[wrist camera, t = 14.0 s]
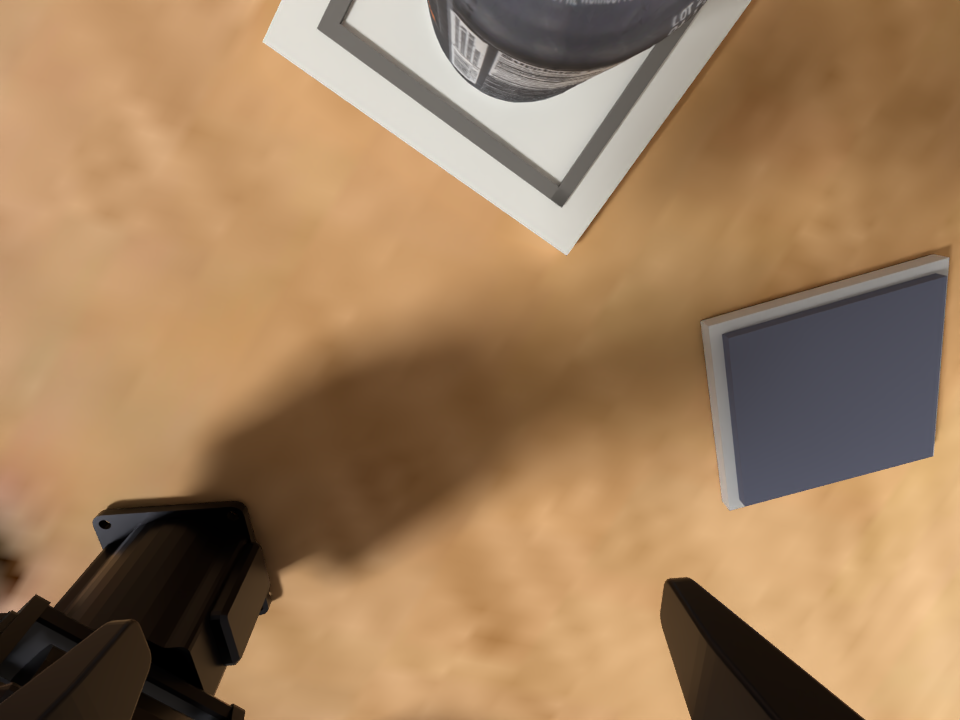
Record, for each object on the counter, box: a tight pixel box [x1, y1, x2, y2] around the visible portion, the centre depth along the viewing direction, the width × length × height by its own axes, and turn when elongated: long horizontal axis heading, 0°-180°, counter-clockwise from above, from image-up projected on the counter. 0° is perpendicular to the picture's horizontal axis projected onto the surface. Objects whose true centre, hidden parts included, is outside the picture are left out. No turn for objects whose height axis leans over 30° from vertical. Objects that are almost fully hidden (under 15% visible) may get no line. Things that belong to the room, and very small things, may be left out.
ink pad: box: [701, 254, 949, 510], centre depth 22 cm, size 10×10×1 cm
